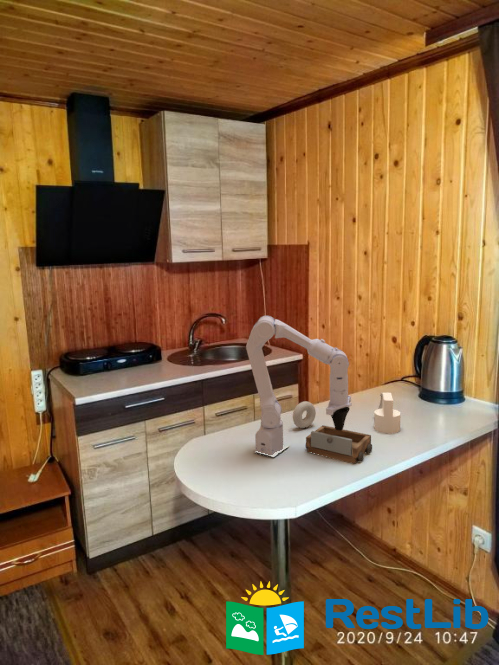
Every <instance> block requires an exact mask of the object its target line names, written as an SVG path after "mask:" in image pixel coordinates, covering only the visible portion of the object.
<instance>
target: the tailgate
mask: <svg viewBox="0 0 499 665" xmlns="http://www.w3.org/2000/svg"><path fill="white" fill-rule="evenodd" d="M310 434H311V447H315V448H320V449H324V450H328V451H332V452H337V453H341V454H345V455H349V456H351V455H352V439H348V438H344V437H339V436H334V435H330V434H325V433H320V432H316V430H311V431H310Z"/></svg>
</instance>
